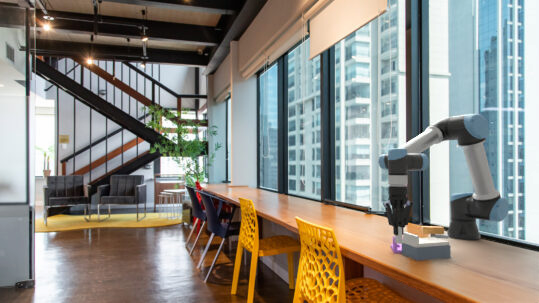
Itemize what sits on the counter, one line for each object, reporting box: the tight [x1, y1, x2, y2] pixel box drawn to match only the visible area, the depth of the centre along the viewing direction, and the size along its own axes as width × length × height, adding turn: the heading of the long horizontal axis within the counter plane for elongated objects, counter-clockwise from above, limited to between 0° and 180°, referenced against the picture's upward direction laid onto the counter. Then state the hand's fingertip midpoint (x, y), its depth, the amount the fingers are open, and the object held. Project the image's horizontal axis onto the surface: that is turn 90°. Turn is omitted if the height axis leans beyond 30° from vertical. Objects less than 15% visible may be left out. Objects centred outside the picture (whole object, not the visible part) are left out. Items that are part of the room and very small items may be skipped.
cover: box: [402, 231, 450, 248], centre depth 148 cm, size 16×9×4 cm, turn 105°
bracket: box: [390, 235, 402, 254], centre depth 158 cm, size 13×6×7 cm, turn 168°
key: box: [420, 225, 450, 240], centre depth 159 cm, size 3×11×9 cm, turn 80°
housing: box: [401, 243, 452, 262], centre depth 152 cm, size 22×17×5 cm
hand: (398, 242), depth 144 cm, fingers closed
